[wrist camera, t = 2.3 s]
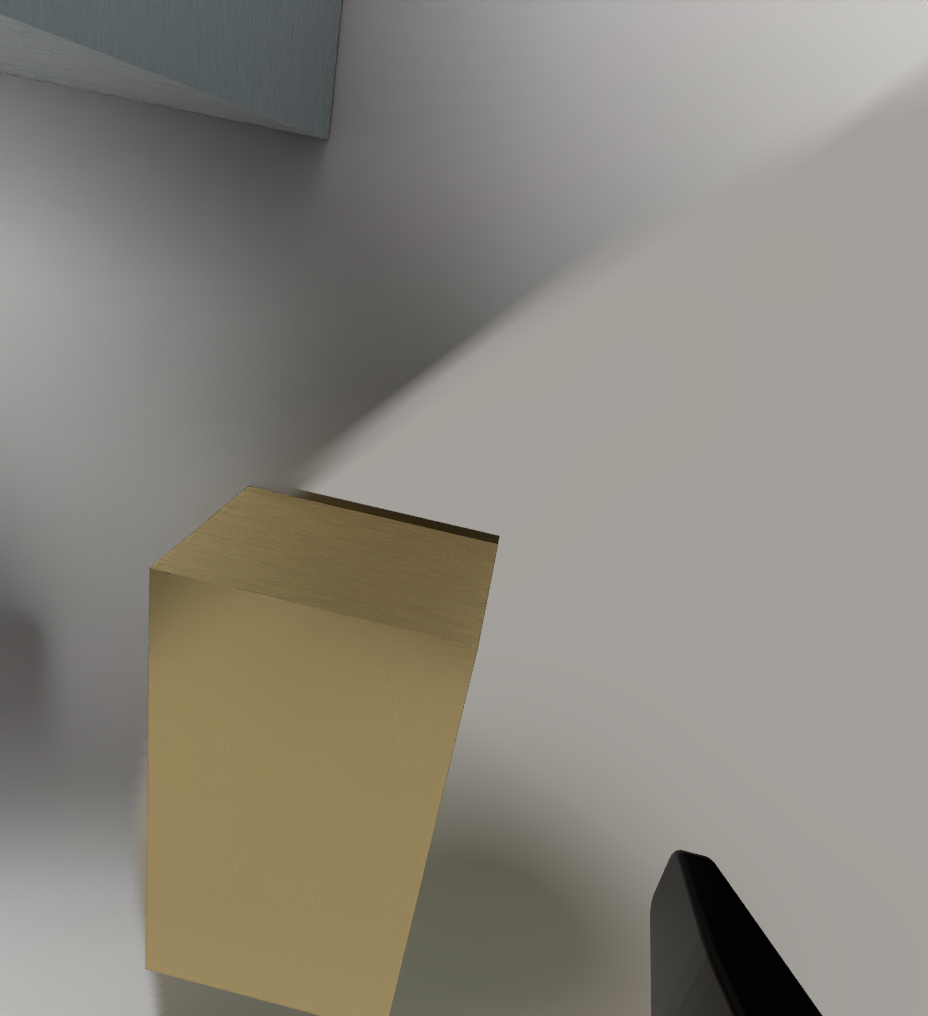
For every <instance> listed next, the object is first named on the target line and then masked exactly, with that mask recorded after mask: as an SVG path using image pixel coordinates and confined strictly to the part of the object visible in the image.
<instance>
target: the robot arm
mask: <svg viewBox="0 0 928 1016" xmlns="http://www.w3.org/2000/svg"><path fill="white" fill-rule="evenodd" d="M650 942H651V1016H822V1015H821V1013H820V1012H819V1010H818V1009H817V1008H816V1006H815V1005H814V1003H813V1002H812V1000H811V999H810V998H809V996H808V995H807V993H806V992H805V991H804V989H803V988H802V986H801V985H800V983H799V982H798V981H797V979H796V978H795V976H794V975H793V974H792V972H791V971H790V969H789V968H788V966H787V965H786V964H785V962H784V961H783V959H782V958H781V956H780V955H779V954H778V952H777V951H776V949H775V948H774V947H773V945H772V944H771V942H770V941H769V939H768V938H767V937H766V935H765V934H764V932H763V931H762V929H761V928H760V927H759V925H758V924H757V922H756V921H755V920H754V918H753V917H752V916H751V914H750V912H749V911H748V910H747V908H746V907H745V905H744V904H743V903H742V901H741V900H740V898H739V897H738V895H737V894H736V893H735V892H734V890H733V888H732V887H731V886H730V884H729V883H728V881H727V880H726V878H725V877H724V876H723V874H722V873H721V872H720V870H719V868H718V867H717V866H716V864H715V863H714V862H713V861H712V860H711V859H710V858H708V857H706V856H702V855H698V854H694V853H690V852H687V851H682V850H677V851H675V852H674V853H673V854H672V855H671V857H670V859H669V861H668V863H667V865H666V868H665V870H664V872H663V875H662V877H661V879H660V881H659V884H658V886H657V888H656V891H655V893H654V895H653V899H652V903H651V911H650Z"/></svg>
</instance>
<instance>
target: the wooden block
mask: <svg viewBox="0 0 928 1016" xmlns="http://www.w3.org/2000/svg"><path fill="white" fill-rule="evenodd" d="M499 537H500V536H498V535H494V534H489V533H485V532H481V531H477V530H473V529H468V528H464V527H460V526H455V525H451V524H447V523H442V522H438V521H434V520H429V519H425V518H421V517H416V516H412V515H408V514H403V513H399V512H395V511H390V510H386V509H382V508H378V507H373V506H369V505H364V504H360V503H356V502H352V501H347V500H343V499H338V498H334V497H330V496H326V495H321V494H317V493H313V492H309V491H304V490H303V491H302V492H301V493H300V494H298V495H297V496H296V497H293V496H289V495H285V494H280V493H276V492H272V491H268V490H263V489H259V488H255V487H250V486H248V487H247V488H246V489H244V490H243V491H242V492H241V493H240V494H238V495H237V496H236V497H235V498H234V499H232V500H231V501H230V502H229V503H228V504H226V505H225V506H224V507H223V508H222V509H220V510H219V511H218V512H217V513H216V514H214V515H213V516H212V517H211V518H209V519H208V520H207V521H206V522H205V523H203V524H202V525H201V526H200V527H199V528H197V529H196V530H195V531H194V532H193V533H191V534H190V535H189V536H188V537H187V538H185V539H184V540H183V541H182V542H180V543H179V544H178V545H177V546H176V547H174V548H173V549H172V550H171V551H170V552H168V553H167V554H166V555H165V556H164V557H162V558H161V559H160V560H159V561H158V562H156V563H155V564H154V565H153V566H152V567H150V587H149V682H148V777H147V872H146V968H145V969H147V970H150V971H154V972H158V973H162V974H165V975H170V976H173V977H177V978H180V979H184V980H188V981H192V982H195V983H199V984H203V985H207V986H210V987H214V988H218V989H222V990H225V991H230V992H233V993H237V994H241V995H244V996H248V997H252V998H255V999H259V1000H263V1001H267V1002H271V1003H274V1004H278V1005H282V1006H285V1007H289V1008H293V1009H297V1010H300V1011H304V1012H308V1013H312V1014H316V1015H319V1016H389V1014H390V1010H391V1006H392V1001H393V998H394V994H395V989H396V985H397V981H398V977H399V973H400V969H401V965H402V960H403V956H404V952H405V948H406V944H407V939H408V936H409V931H410V927H411V923H412V919H413V915H414V911H415V907H416V902H417V898H418V894H419V890H420V886H421V881H422V878H423V873H424V869H425V865H426V861H427V856H428V853H429V848H430V844H431V840H432V836H433V832H434V828H435V823H436V819H437V815H438V811H439V807H440V803H441V799H442V794H443V791H444V786H445V782H446V778H447V774H448V770H449V766H450V761H451V757H452V753H453V749H454V745H455V741H456V736H457V732H458V728H459V724H460V720H461V716H462V711H463V708H464V703H465V699H466V695H467V691H468V687H469V683H470V679H471V674H472V670H473V666H474V662H475V658H476V653H477V650H478V645H479V640H480V635H481V629H482V624H483V619H484V614H485V609H486V604H487V598H488V593H489V588H490V583H491V578H492V572H493V568H494V562H495V557H496V552H497V546H498V542H499Z"/></svg>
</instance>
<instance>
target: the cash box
mask: <svg viewBox="0 0 928 1016" xmlns="http://www.w3.org/2000/svg"><path fill="white" fill-rule="evenodd" d="M341 8H342V0H0V72H1V73H6V74H11V75H16V76H21V77H26V78H30V79H35V80H40V81H45V82H50V83H55V84H60V85H64V86H69V87H74V88H79V89H84V90H89V91H94V92H98V93H103V94H108V95H113V96H118V97H123V98H128V99H132V100H137V101H142V102H147V103H152V104H157V105H162V106H166V107H171V108H176V109H181V110H186V111H191V112H196V113H200V114H205V115H210V116H215V117H220V118H225V119H230V120H234V121H239V122H244V123H249V124H254V125H259V126H263V127H268V128H273V129H278V130H283V131H288V132H293V133H297V134H302V135H307V136H312V137H317V138H322V139H327V140H328V139H329V129H330V119H331V109H332V99H333V88H334V78H335V68H336V58H337V48H338V38H339V28H340V18H341Z"/></svg>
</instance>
